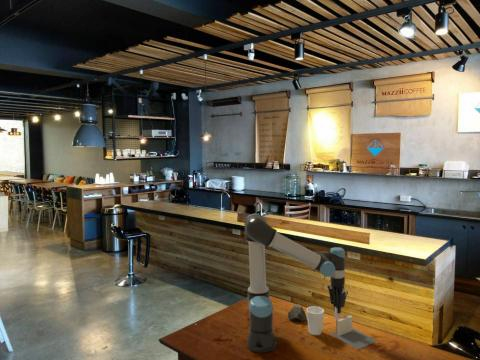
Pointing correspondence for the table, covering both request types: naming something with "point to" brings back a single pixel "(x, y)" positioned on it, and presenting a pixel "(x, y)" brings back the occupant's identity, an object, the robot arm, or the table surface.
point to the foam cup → (315, 319)
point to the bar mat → (355, 339)
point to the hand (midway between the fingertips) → (337, 318)
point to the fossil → (297, 313)
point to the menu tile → (344, 325)
